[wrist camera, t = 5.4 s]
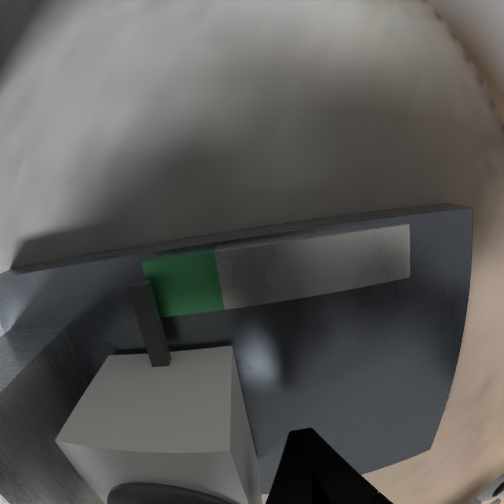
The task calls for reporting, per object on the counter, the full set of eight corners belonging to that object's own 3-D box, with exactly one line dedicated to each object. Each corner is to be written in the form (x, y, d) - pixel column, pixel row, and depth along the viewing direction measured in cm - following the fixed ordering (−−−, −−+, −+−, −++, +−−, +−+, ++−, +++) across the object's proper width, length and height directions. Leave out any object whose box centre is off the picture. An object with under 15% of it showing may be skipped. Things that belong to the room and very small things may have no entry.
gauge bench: (447, 203, 10) (619, 245, 2) (418, 432, 12) (478, 528, 5) (9, 269, 9) (-124, 345, 2) (105, 469, 12) (70, 570, 5)
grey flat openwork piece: (426, 522, 18) (432, 533, 16) (552, 421, 17) (560, 429, 15) (431, 543, 22) (435, 551, 20) (527, 475, 21) (532, 481, 19)
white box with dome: (217, 266, 8) (197, 351, 4) (258, 465, 10) (266, 551, 6) (49, 289, 8) (-38, 350, 4) (132, 466, 10) (110, 540, 6)
